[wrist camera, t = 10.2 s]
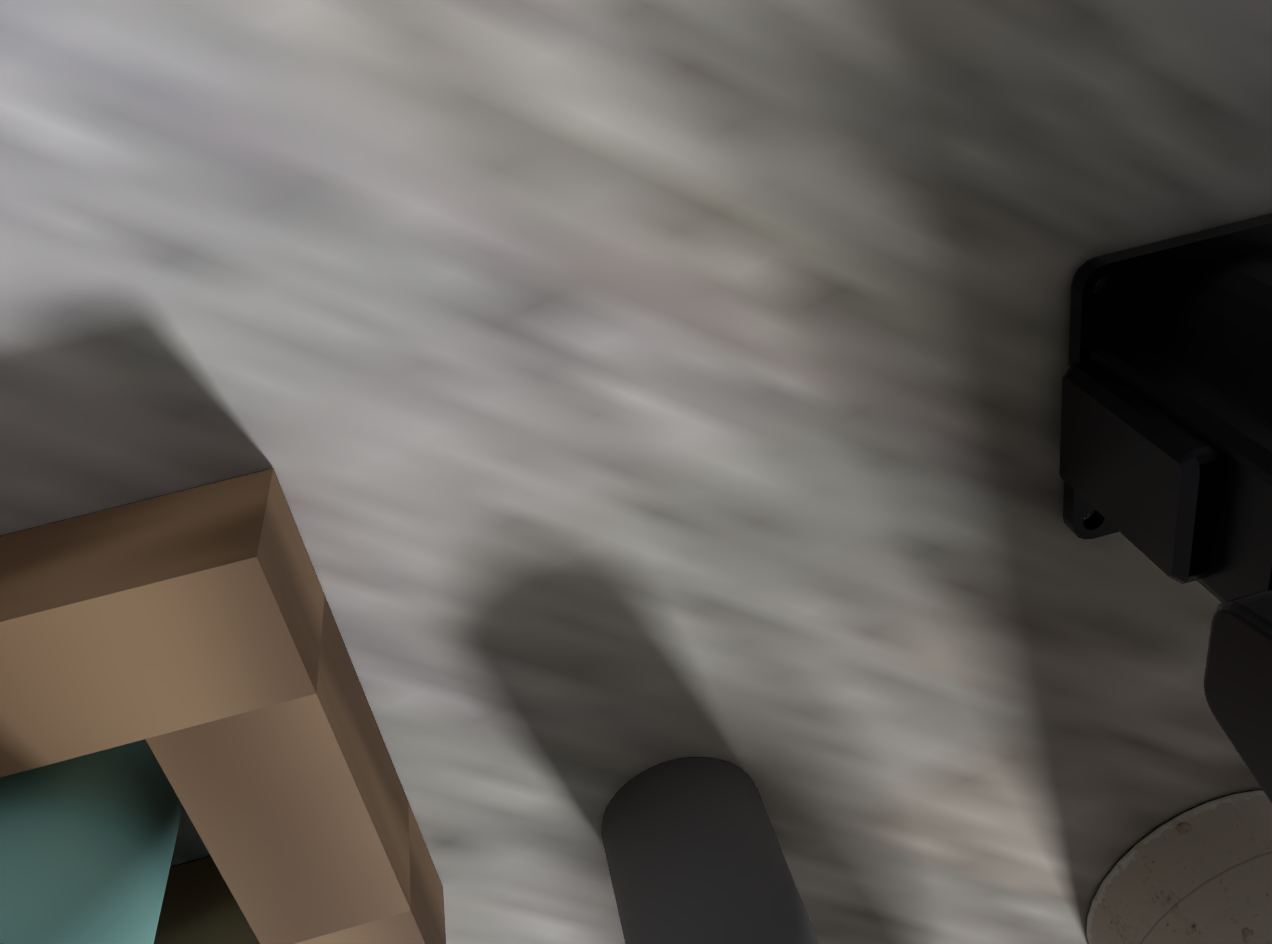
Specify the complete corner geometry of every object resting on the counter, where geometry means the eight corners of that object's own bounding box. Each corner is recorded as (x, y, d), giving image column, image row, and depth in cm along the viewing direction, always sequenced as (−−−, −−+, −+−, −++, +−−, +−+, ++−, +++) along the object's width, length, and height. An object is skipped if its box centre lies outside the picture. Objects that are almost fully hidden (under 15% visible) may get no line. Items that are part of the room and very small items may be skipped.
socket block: (273, 468, 20) (256, 556, 18) (442, 887, 26) (448, 998, 24) (-403, 635, 19) (-524, 755, 17) (-63, 1030, 25) (-114, 1162, 23)
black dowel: (749, 738, 26) (838, 954, 21) (767, 849, 28) (852, 1071, 23) (587, 783, 26) (637, 1014, 21) (617, 893, 28) (669, 1127, 23)
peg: (143, 681, 22) (59, 960, 16) (216, 816, 24) (164, 1105, 18) (-59, 733, 22) (-214, 1036, 16) (33, 866, 24) (-77, 1176, 18)
